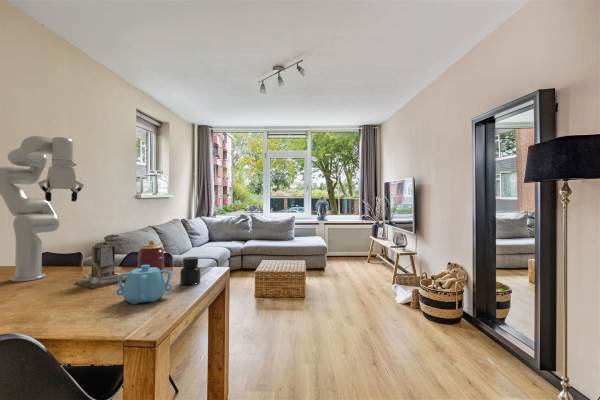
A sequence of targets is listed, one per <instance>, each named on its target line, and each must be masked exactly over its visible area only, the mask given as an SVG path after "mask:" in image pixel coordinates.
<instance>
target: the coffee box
mask: <svg viewBox="0 0 600 400" xmlns="http://www.w3.org/2000/svg"><path fill="white" fill-rule="evenodd" d="M115 248H116V246H115V245H108V244H102V245H95V246H91V274H92V277H96V278H104V277H109V276H114V273H115V259H116V257H115V255H116V252H115V250H116V249H115Z"/></svg>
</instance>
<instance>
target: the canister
mask: <svg viewBox="0 0 600 400" xmlns="http://www.w3.org/2000/svg"><path fill="white" fill-rule="evenodd" d="M163 247H164V246H163V245H162V244H160V243H155V241H154V240H149V241H148V243H146V244H145V243H144V244H142V245H141V246H140V247H139V249H140V250H137V253H138V257H137V269H139V268H141V266H142V265H150V267H149V268H151V267H156V268H158V269H159V270H160V271H161V270H165V255H164V253H165V252H166V251H165V250H164V249H163ZM163 273H164V272H162V274H163Z"/></svg>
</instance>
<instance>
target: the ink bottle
mask: <svg viewBox="0 0 600 400" xmlns="http://www.w3.org/2000/svg"><path fill="white" fill-rule="evenodd" d="M179 273H180V274H179V275H180V276H179V277H180V281H179V282H180V283H179V284H180V285H182V286H193V285H192V284H195V283H198V282H200V283H201V268H200V267H199V257H198V256H188V257H187V256H186V257H183V258H182V268H181V269H180V272H179ZM198 284H199V283H198ZM195 285H196V284H195Z"/></svg>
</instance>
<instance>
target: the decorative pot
mask: <svg viewBox="0 0 600 400" xmlns="http://www.w3.org/2000/svg"><path fill="white" fill-rule="evenodd" d="M149 267H150V265H142V266H141V268H139V269H138V268H135V269H132V270H131V271H130V272H122V273H120V274H121V275H120V276H119V277H118V283H117V284H118V286H119V288H118V289H116V290H115V291H116V293H115V294H116V295H117V296H121V297H123V298H124V300H125V301H126V302H127V303H129V304H130V305H137V304H139V303H146V302H150V303H156V302H158V300H159V299H161V298H162V297H163V295H164V294H165V293H166V292H167V291H171V290H172V288H173V285H172V283H170V280H171V277H172V274H171V272H170V271H169V270H167V269H164V270H161V271H160V270H159V269H158V268H156V267H151V268H149ZM162 272H163V273H167V278H166V280H165V278H164V276H163V273H162ZM124 276H127V277H126V278H127V280H126V282H124V285H123V282H121V277H124ZM168 286H169V287H168ZM120 291H121V292H120Z"/></svg>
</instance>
